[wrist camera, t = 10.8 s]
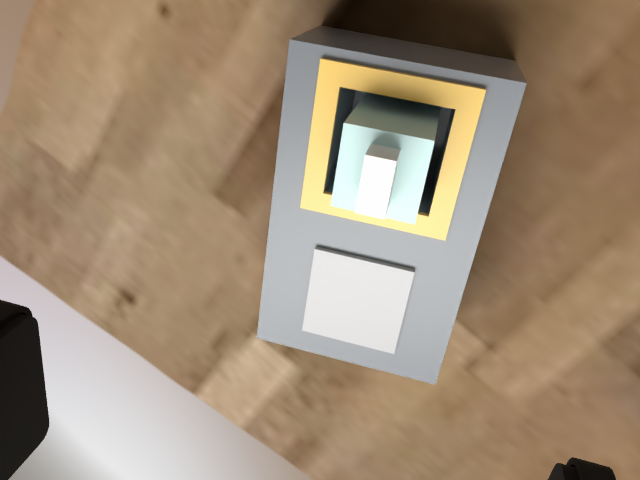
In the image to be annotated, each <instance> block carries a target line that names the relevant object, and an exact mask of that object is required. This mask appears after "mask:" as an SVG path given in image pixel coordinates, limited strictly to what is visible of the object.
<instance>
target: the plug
mask: <svg viewBox="0 0 640 480" xmlns="http://www.w3.org/2000/svg"><path fill="white" fill-rule="evenodd" d="M440 109H441V106H436V105H431V104H426V103H421V102H415V101H410V100H405V99H400V98H395V97H390V96H384V95H379V94H374V93H369V92H367V93H366V94H365V95H364V97H363V98H362V99H361V101H360V102H359V103H358V105H357V106H356V107H355V109H354V110H353V111H352V112H351V114H350V115H349V116H348V118H347V119H346V120H345V122H344V124H343V130H342V136H341V143H340V149H339V155H338V161H337V168H336V174H335V180H334V187H333V193H332V199H331V206H333V207H338V208H342V209H347V210H351V211H355V213H357V214H362V215H366V216H371V217H375V218H380V219H384V220H385V218H388V219H392V220H397V221H401V222H406V223H410V224H415V223H416V218H417V214H418V210H419V206H420V201H421V197H422V193H423V189H424V185H425V180H426V176H427V172H428V168H429V164H430V159H431V155H432V151H433V147H434V142H435V137H436V132H437V126H438V120H439V115H440Z"/></svg>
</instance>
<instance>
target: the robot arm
mask: <svg viewBox="0 0 640 480" xmlns="http://www.w3.org/2000/svg"><path fill="white" fill-rule="evenodd" d="M48 428H49V416H48V407H47V398H46V390H45V381H44V373H43V363H42V355H41V346H40V337H39V329H38V323H37V320H36V319H35V318H34V317H32V313H31V311H30V309H29V308H27V307H24V306H20V305H17V304H13V303H10V302H6V301H2V300H0V480H8V479H9V478H10V477H11V476H12V475H13V474H14V472H15V471H16V470H17V469H18V468H19V467H20V466H21V465H22V463H23V462H24V461H25V460H26V459H27V458H28V457H29V456H30V455H31V453H32V452H33V451H34V450H35V449H36V448H37V447H38V446H39V444H40V443H41V442H42V441H43V439H44V438H45V436H46V433H47V431H48ZM548 480H616V478H615V475H614V473H613V470H612V469H611V468H610V467H606V466H603V465H599V464H596V463H592V462H588V461H585V460H581V459H577V458H571V459H569V461H568V462H567V464H566V465H564V464H561V463H557V464H556V465H555V466H554V468H553V470H552V472H551V474H550V477H549V479H548Z"/></svg>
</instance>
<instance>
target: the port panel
mask: <svg viewBox="0 0 640 480" xmlns="http://www.w3.org/2000/svg"><path fill="white" fill-rule="evenodd" d="M526 84H527V83H526V81H525V78H524V76H523V74H522V72H521V70H520V68H519V66H518V64H517V62H516V61H515V60H510V59H504V58H499V57H493V56H487V55H482V54H476V53H471V52H465V51H460V50H454V49H448V48H443V47H437V46H432V45H426V44H421V43H415V42H410V41H404V40H398V39H393V38H387V37H382V36H376V35H371V34H365V33H359V32H354V31H348V30H343V29H337V28H332V27H326V26H319V27H317V28H314V29H312V30H310V31H307V32H305V33H303V34H301V35H298V36H296V37H294V38H292V39H290V40H289V50H288V59H287V68H286V77H285V86H284V95H283V104H282V113H281V122H280V131H279V140H278V150H277V159H276V168H275V177H274V186H273V195H272V204H271V213H270V222H269V231H268V240H267V250H266V259H265V268H264V277H263V286H262V295H261V304H260V313H259V322H258V331H257V338H258V339H262V340H266V341H270V342H274V343H277V344H281V345H285V346H289V347H293V348H297V349H300V350H304V351H308V352H312V353H316V354H320V355H323V356H327V357H331V358H335V359H339V360H343V361H346V362H350V363H354V364H358V365H362V366H366V367H369V368H373V369H377V370H381V371H385V372H389V373H392V374H396V375H400V376H404V377H408V378H412V379H415V380H419V381H423V382H427V383H431V384H436V381H437V378H438V374H439V371H440V368H441V364H442V361H443V358H444V354H445V351H446V348H447V345H448V341H449V338H450V335H451V331H452V328H453V325H454V322H455V318H456V315H457V312H458V308H459V305H460V302H461V298H462V295H463V292H464V289H465V285H466V282H467V279H468V275H469V272H470V269H471V265H472V262H473V259H474V256H475V252H476V249H477V246H478V242H479V239H480V236H481V232H482V229H483V226H484V223H485V219H486V216H487V213H488V209H489V206H490V203H491V199H492V196H493V193H494V190H495V186H496V183H497V180H498V176H499V173H500V170H501V167H502V163H503V160H504V157H505V153H506V150H507V147H508V143H509V140H510V137H511V134H512V130H513V127H514V124H515V120H516V117H517V114H518V110H519V107H520V104H521V101H522V97H523V94H524V91H525V87H526ZM367 92H369V93H374V94H379V95H384V96H390V97H395V98H400V99H405V100H410V101H415V102H421V103H426V104H431V105H436V106H441V109H440V115H439V120H438V126H437V132H436V137H435V142H434V147H433V151H432V155H431V159H430V164H429V168H428V172H427V176H426V180H425V185H424V189H423V193H422V197H421V201H420V206H419V210H418V214H417V218H416V223H415V224H410V223H406V222H401V221H397V220H392V219H388V218H385V220H384V219H380V218H375V217H371V216H366V215H362V214H357V213H355V211H351V210H347V209H342V208H338V207H333V206H331V199H332V193H333V187H334V180H335V174H336V168H337V161H338V155H339V149H340V143H341V136H342V130H343V124H344V122H345V120H346V119H347V118H348V116H349V115H350V114H351V112H352V111H353V110H354V109H355V107H356V106H357V105H358V103H359V102H360V101H361V99H362V98H363V97H364V95H365V94H366V93H367Z"/></svg>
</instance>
